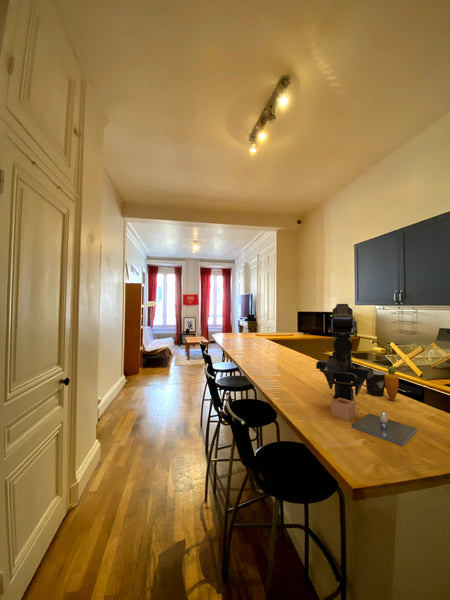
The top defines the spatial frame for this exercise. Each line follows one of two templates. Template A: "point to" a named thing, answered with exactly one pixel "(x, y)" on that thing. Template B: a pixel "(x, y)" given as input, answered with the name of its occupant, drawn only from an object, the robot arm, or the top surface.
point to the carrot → (391, 383)
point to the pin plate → (385, 428)
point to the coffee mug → (376, 384)
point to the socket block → (343, 408)
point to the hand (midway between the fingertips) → (343, 392)
